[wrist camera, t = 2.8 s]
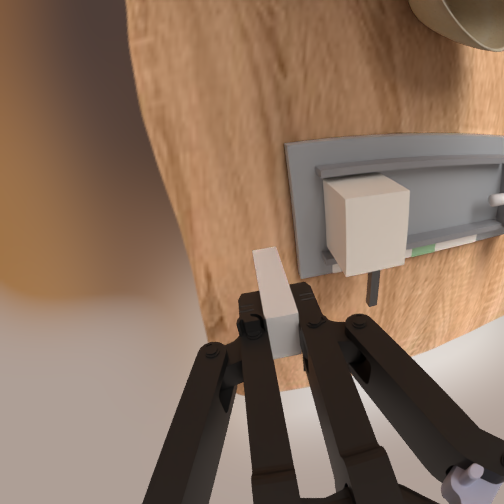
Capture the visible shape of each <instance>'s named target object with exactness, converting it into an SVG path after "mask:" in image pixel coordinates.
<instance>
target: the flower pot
mask: <svg viewBox="0 0 504 504" xmlns="http://www.w3.org/2000/svg"><path fill="white" fill-rule="evenodd" d="M408 2H409V5H410V7H411V9H412V11H413V13H414V14H415V16H416V17H417V18H418V19H419V20H420V21H421V22H422V23H423V24H424V25H425V26H427V27H428V28H430V29H431V30H433V31H435V32H436V33H438V34H440V35H442V36H444V37H446V38H448V39H450V40H453V41H455V42H458V43H460V44H463V45H466V46H470V47H473V48H477V49H481V50H486V51H494V52H501V51H504V0H408Z"/></svg>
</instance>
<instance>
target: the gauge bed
mask: <svg viewBox="0 0 504 504" xmlns="http://www.w3.org/2000/svg"><path fill="white" fill-rule="evenodd" d="M284 147H285V155H286V162H287V170H288V178H289V187H290V195H291V204H292V213H293V222H294V232H295V242H296V252H297V263H298V273H299V275H300V278H301V279H304V278H309V277H315V276H320V275H325V274H330V273H337V272H342V270H341V268H340V266H339V265H338V263H337V262H336V260H335V258H334V257H333V255H332V253H331V252H330V250H329V249H328V247H327V241H326V221H325V204H324V190H323V179H326V178H334V177H342V176H350V175H358V174H367V173H376V172H379V173H381V174H383V175H384V176H386V177H388V178H390V179H391V180H393V181H395V182H396V183H398V184H400V185H402V186H403V187H405V188H407V189H408V190H410V201H409V219H408V232H407V243H406V253H405V258H408V257H414V256H419V255H423V254H427V253H432V252H434V251H439V250H443V249H447V248H451V247H455V246H460V245H464V244H468V243H472V242H475V241H478V240H482V239H486V238H490V237H494V236H498V235H502V234H504V136H500V135H485V134H464V133H400V134H377V135H360V136H347V137H335V138H325V139H315V140H306V141H298V142H290V143H284Z"/></svg>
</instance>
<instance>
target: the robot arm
mask: <svg viewBox="0 0 504 504" xmlns="http://www.w3.org/2000/svg"><path fill="white" fill-rule="evenodd" d="M252 253H253V258H254V264H255V270H256V275H257V281H258V287H259V291H256V292H250V293H244V294H241V296H240V298H239V300H238V303H239V315H240V317H239V318H238V320H237V328H238V332H239V337H238V338H237V339H236V340H235V341H233V342H231V343H229V344H227V345H225V346H224V345H223V344H222V343H219V342H210V343H207V344H205V345H204V346H202V347H201V348H200V350H199V352H198V354H197V357H196V359H195V362H194V365H193V367H192V370H191V372H190V375H189V378H188V380H187V383H186V386H185V388H184V391H183V394H182V396H181V399H180V401H179V405H178V407H177V410H176V413H175V415H174V418H173V421H172V423H171V426H170V429H169V431H168V434H167V437H166V439H165V442H164V445H163V448H162V451H161V453H160V456H159V459H158V462H157V464H156V467H155V470H154V472H153V475H152V478H151V481H150V484H149V486H148V489H147V492H146V495H145V498H144V500H143V503H142V504H209V500H210V496H211V492H212V488H213V484H214V480H215V476H216V472H217V468H218V464H219V460H220V456H221V452H222V448H223V444H224V440H225V436H226V432H227V428H228V424H229V419H230V415H231V411H232V407H233V403H234V399H235V394H236V390H237V384H240V383H242V382H244V391H245V402H246V412H247V423H248V433H249V443H250V453H251V463H252V476H251V483H252V493H253V502H254V504H439V503H437V502H435V501H433V500H431V499H429V498H427V497H425V496H422V495H421V494H419V493H417V492H415V491H413V490H411V489H409V488H407V487H405V486H403V485H401V484H398V483H397V480H396V477H395V474H394V471H393V469H392V466H391V463H390V461H389V458H388V455H387V453H386V451H385V449H384V448H383V447H382V446H379V444H378V442H377V440H376V438H375V435H374V432H373V429H372V427H371V424H370V422H369V419H368V416H367V414H366V411H365V408H364V406H363V403H362V401H361V398H360V396H359V393H358V391H357V388H356V386H355V383H354V381H353V378H352V376H351V374H352V375H353V376H354V378H355V379H356V380H357V381H358V383H359V384H360V385H361V387H362V388H363V389H364V390H365V392H366V393H367V394H368V395H369V397H370V398H371V399H372V400H373V402H374V403H375V404H376V406H377V407H378V408H379V409H380V411H381V412H382V413H383V414H384V416H385V417H386V418H387V420H389V422H390V423H391V425H392V426H393V427H394V428H395V429H396V431H397V432H398V434H399V435H400V436H401V437H402V439H403V440H404V441H405V442H406V444H407V445H408V446H409V448H410V449H411V450H412V451H413V453H414V454H415V455H416V456H417V458H418V459H419V460H420V461H421V463H422V464H423V465H424V466H425V468H426V469H427V470H428V471H429V472H430V473H431V474H432V475H433V476H434V477H435V478H436V479H437V480H439V481H440V482H442V486H441V493H442V496H443V498H445V499H446V500H447V501H448V502H449V504H491V503H492V501H493V499H494V497H495V496H496V494H497V491H498V490H499V488H500V486H501V485H502V483H503V482H504V440H502V439H500V438H498V437H496V436H493V435H492V434H490V433H488V432H485V431H483V430H482V429H480V428H479V427H478V426H477V425H476V424H475V423H474V422H473V421H472V420H471V419H470V418H469V417H468V415H467V414H465V412H464V411H463V410H462V409H461V408H460V407H459V406H458V405H457V404H456V403H455V402H454V401H453V400H452V399H451V398H450V397H449V396H448V394H446V392H445V391H443V389H442V388H441V387H440V386H439V385H438V384H437V383H436V382H435V381H434V380H433V379H432V378H431V377H430V376H429V375H428V374H427V373H426V372H425V371H424V370H423V369H422V368H421V367H420V366H419V365H418V364H417V363H416V362H415V361H414V360H413V359H412V358H411V357H410V356H409V355H408V354H407V353H406V352H405V351H404V350H403V349H402V348H401V347H400V346H399V345H398V344H397V343H396V342H395V341H394V340H393V339H392V338H391V337H390V336H389V335H388V334H387V333H386V332H385V331H384V330H383V329H382V328H381V327H380V326H379V325H378V324H377V323H376V322H375V321H374V320H372V319H371V318H370V317H369V316H367V315H364V314H354V315H351V316H350V317H348V318H347V320H346V322H334V321H330V320H328V319H327V318H326V316H324V315H323V314H322V312H321V310H320V307H319V305H318V303H317V300H316V298H315V296H314V293H313V291H312V289H311V287H310V286H309V285H308V284H307V283H305V282H301V283H296V284H290V285H289V283H288V280H287V277H286V274H285V271H284V268H283V266H282V263H281V260H280V257H279V254H278V251H277V248H276V246H275V247H270V248H264V249H259V250H253V251H252ZM301 350H302V353H303V364H304V371H306V373H307V377H308V380H309V384H310V388H311V391H312V395H313V398H314V402H315V406H316V410H317V413H318V417H319V421H320V425H321V428H322V432H323V436H324V440H325V444H326V447H327V451H328V455H329V459H330V463H331V467H332V471H333V474H334V479H335V488H336V493H335V494H333V495H331V496H328V497H326V498H300V495H299V489H298V485H297V479H296V474H295V469H294V465H293V460H292V454H291V449H290V444H289V438H288V433H287V428H286V423H285V418H284V412H283V407H282V403H281V397H280V391H279V386H278V381H277V376H276V371H275V365H274V360H273V359H278V358H283V357H288V356H293V355H298V354H302V353H301Z"/></svg>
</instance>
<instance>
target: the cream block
mask: <svg viewBox="0 0 504 504" xmlns="http://www.w3.org/2000/svg"><path fill="white" fill-rule="evenodd" d="M323 190H324V204H325V221H326V241H327V247H328V249H329V250H330V252H331V253H332V255H333V257H334V258H335V260H336V262H337V263H338V265H339V266H340V268H341V270H342V271H343V273H344V275H345V276H346V277H349V276H354V275H359V274H364V273H368V283H367V296H366V303H367V304H368V306H369V307H371V306H375V305H377V298H378V289H379V278H380V270H382V269H387V268H391V267H396V266H400V265H404V262H405V253H406V243H407V232H408V219H409V201H410V190H408V189H407V188H405V187H403V186H402V185H400V184H398V183H396V182H395V181H393V180H391V179H390V178H388V177H386V176H384V175H383V174H381V173H379V172H376V173H367V174H358V175H350V176H342V177H334V178H326V179H323Z"/></svg>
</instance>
